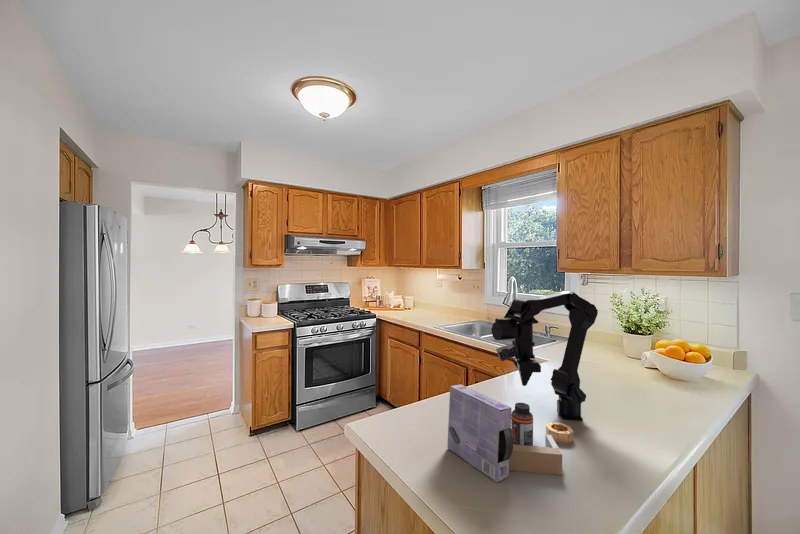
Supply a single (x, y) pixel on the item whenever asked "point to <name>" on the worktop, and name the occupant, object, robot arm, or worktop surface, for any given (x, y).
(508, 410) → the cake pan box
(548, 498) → the worktop surface
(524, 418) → the supplement bottle
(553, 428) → the wooden octagonal ring
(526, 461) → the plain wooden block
